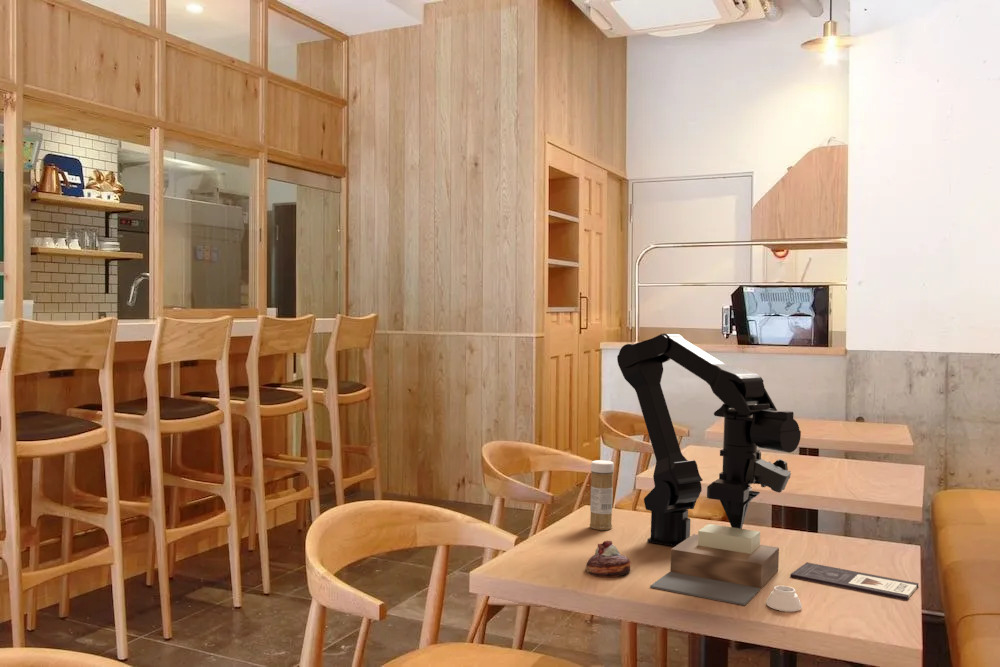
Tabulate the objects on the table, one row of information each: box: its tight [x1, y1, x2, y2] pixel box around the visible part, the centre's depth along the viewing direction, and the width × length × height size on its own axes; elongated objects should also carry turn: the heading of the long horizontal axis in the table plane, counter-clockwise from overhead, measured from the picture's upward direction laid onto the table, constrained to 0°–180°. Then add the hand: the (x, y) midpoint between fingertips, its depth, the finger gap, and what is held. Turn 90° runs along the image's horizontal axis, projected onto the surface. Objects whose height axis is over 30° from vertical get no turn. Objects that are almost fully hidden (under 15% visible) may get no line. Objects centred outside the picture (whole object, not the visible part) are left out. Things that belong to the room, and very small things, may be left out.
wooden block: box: [669, 533, 780, 590], centre depth 149 cm, size 15×12×4 cm
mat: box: [649, 571, 761, 606], centre depth 140 cm, size 15×9×1 cm, turn 60°
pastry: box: [585, 540, 632, 578], centre depth 148 cm, size 8×8×5 cm
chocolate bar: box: [790, 562, 919, 601], centre depth 146 cm, size 9×1×18 cm
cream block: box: [697, 523, 761, 554], centre depth 151 cm, size 9×6×2 cm, turn 60°
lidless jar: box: [765, 585, 803, 613], centre depth 132 cm, size 5×3×5 cm
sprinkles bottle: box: [589, 459, 615, 531], centre depth 177 cm, size 5×5×14 cm
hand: (737, 532), depth 155 cm, fingers closed
